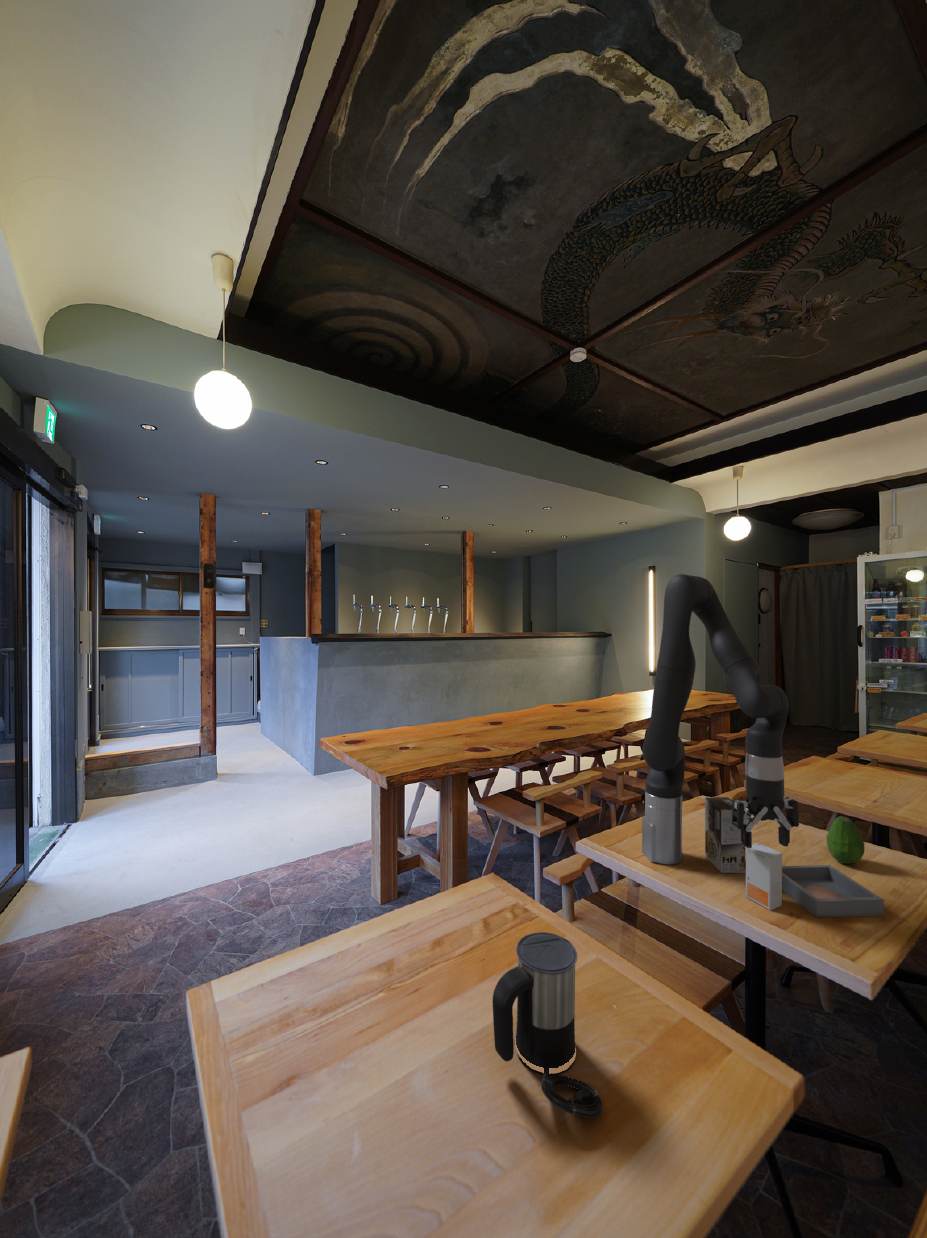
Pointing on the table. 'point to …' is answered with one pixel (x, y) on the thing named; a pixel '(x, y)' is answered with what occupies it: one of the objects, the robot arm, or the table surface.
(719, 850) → the coffee box
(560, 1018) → the milk frother
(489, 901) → the table surface
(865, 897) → the shallow gray box
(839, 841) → the avocado
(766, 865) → the skincare box
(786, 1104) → the table surface
